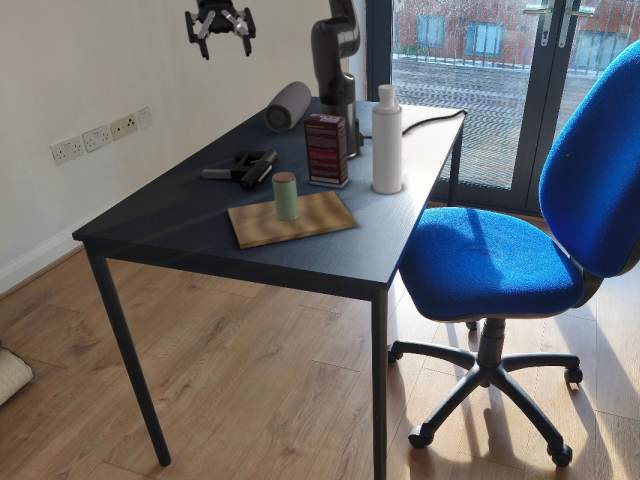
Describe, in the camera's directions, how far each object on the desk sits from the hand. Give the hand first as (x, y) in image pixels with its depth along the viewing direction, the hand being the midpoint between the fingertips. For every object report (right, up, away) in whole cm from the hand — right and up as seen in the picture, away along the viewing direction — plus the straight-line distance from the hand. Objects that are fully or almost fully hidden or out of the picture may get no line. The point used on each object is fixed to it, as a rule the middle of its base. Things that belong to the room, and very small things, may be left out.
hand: (228, 56), depth 119 cm
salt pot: (+13, -34, -1) cm, 37 cm away
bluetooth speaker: (+5, 0, +50) cm, 50 cm away
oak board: (+13, -35, 0) cm, 38 cm away
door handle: (-3, -21, +20) cm, 29 cm away
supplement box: (+20, -24, +16) cm, 35 cm away
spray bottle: (+34, -26, +13) cm, 45 cm away
